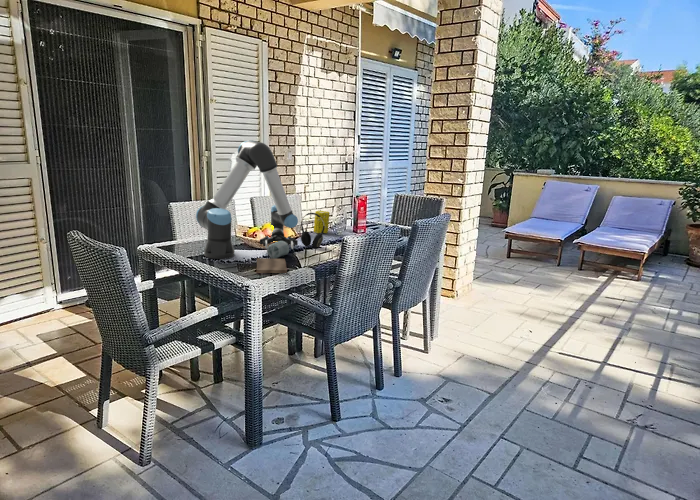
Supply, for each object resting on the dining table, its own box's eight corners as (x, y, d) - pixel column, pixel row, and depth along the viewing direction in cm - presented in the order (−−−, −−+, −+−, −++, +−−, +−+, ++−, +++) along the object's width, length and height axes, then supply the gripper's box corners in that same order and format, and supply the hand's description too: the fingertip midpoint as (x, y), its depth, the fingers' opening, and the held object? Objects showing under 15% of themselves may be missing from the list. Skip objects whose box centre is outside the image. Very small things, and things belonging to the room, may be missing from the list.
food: (311, 235, 301) (318, 233, 310) (327, 234, 296) (334, 231, 305) (308, 211, 299) (315, 210, 308) (324, 210, 294) (331, 208, 303)
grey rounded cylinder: (278, 256, 235) (274, 237, 237) (264, 260, 240) (261, 242, 242) (295, 257, 247) (292, 239, 249) (281, 261, 252) (278, 244, 253)
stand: (256, 273, 217) (256, 269, 216) (256, 262, 234) (256, 258, 233) (286, 274, 220) (286, 270, 219) (284, 262, 237) (284, 258, 236)
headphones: (303, 243, 275) (304, 209, 270) (326, 247, 271) (328, 213, 265) (296, 246, 268) (298, 212, 262) (320, 250, 263) (322, 215, 257)
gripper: (299, 242, 267) (302, 253, 247) (255, 241, 262) (255, 252, 242) (299, 230, 265) (303, 239, 245) (255, 229, 260) (255, 238, 240)
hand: (279, 246), depth 243 cm, fingers open, 13 cm apart
